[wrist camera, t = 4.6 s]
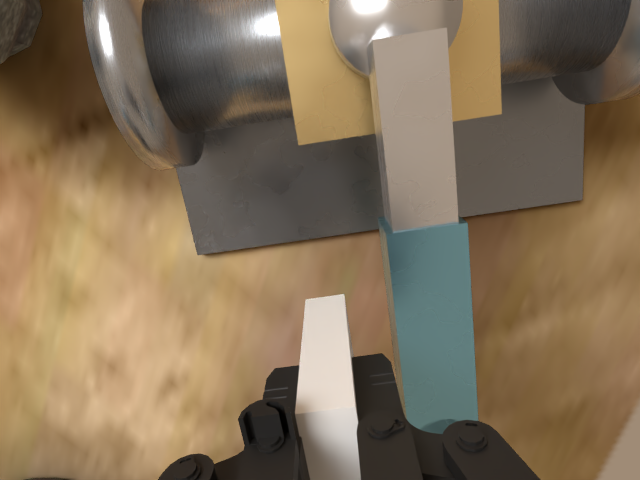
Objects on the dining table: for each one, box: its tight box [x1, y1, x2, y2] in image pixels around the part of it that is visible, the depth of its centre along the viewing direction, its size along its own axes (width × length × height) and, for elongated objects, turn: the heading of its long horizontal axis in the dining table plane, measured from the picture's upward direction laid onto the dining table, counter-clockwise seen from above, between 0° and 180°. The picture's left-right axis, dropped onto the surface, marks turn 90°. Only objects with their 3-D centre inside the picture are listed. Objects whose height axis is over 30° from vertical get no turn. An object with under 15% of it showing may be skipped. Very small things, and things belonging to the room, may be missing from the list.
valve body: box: [83, 0, 640, 255], centre depth 21 cm, size 24×15×10 cm, turn 99°
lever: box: [328, 0, 478, 434], centre depth 16 cm, size 4×20×4 cm, turn 9°
